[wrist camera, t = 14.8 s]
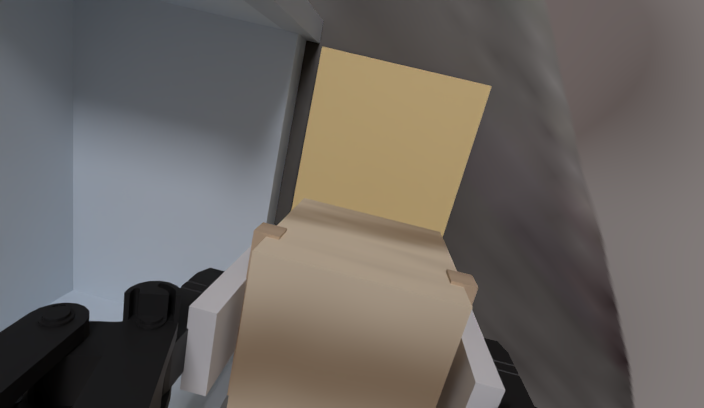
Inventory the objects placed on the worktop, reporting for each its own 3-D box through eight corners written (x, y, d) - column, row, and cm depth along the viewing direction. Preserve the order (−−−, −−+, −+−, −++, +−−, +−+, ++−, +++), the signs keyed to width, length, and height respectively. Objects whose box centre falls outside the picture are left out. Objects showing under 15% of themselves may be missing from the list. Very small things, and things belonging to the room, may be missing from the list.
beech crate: (295, 193, 15) (238, 243, 9) (449, 231, 15) (488, 308, 9) (272, 315, 17) (211, 422, 11) (410, 352, 17) (422, 480, 11)
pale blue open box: (83, -35, 21) (-230, -180, 10) (323, 21, 20) (253, -72, 10) (80, 286, 27) (-117, 401, 16) (265, 335, 26) (183, 486, 16)
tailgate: (322, 46, 19) (491, 86, 19) (326, 50, 21) (484, 87, 20) (268, 333, 25) (399, 367, 24) (274, 321, 26) (399, 354, 26)
